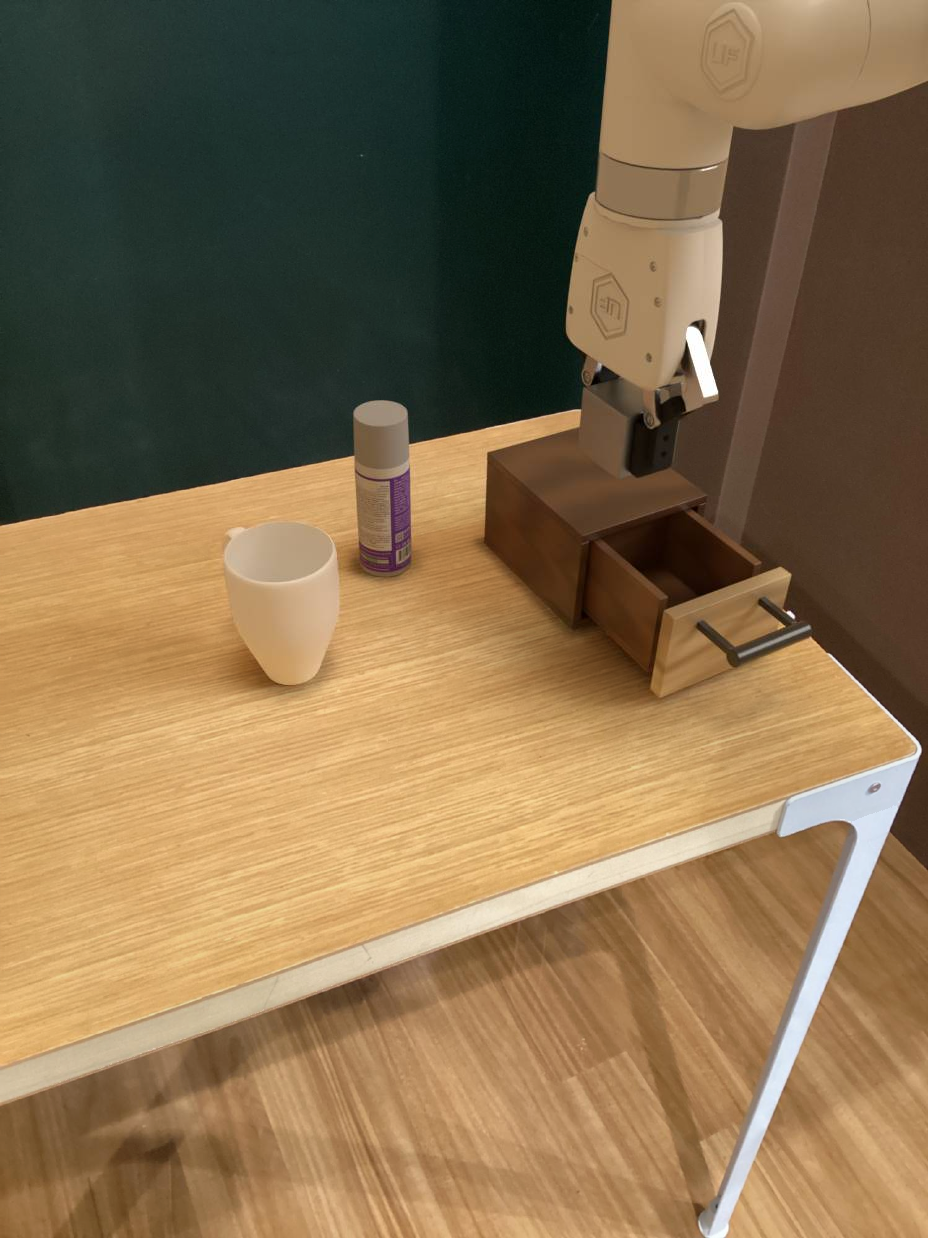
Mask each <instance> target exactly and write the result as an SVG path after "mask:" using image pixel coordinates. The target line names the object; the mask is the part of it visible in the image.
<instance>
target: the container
mask: <svg viewBox="0 0 928 1238" xmlns="http://www.w3.org/2000/svg"><path fill="white" fill-rule="evenodd" d="M352 417H353V456H354V457H353V459H354V460H353V461H354V481H355V498H356V499H355V500H356V519H357V536H358V554H359V565H360V567H361V569H362V570H363V571H364V572H366V573H367V574H369V575H372V576H374V577H379V578H389V577H390V578H391V577H395V576H399V575H402V574H403V573H405V572H406V571H407V570H409V568H410V567H411V565H412V512H411V511H412V507H411V503H412V502H411V497H412V496H411V457H410V438H409V436H410V435H409V415H408V409H407V408H406V407H405V406H403V404H401V403H399V402H395V401H391V400H384V399H383V400H382V399H381V400H378V399H377V400H370V401H367V402H366V401H365V402H364V403H361V404H360V405H358V406H357V407H355V408H354V410H353V415H352Z"/></svg>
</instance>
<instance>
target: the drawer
mask: <svg viewBox="0 0 928 1238" xmlns="http://www.w3.org/2000/svg"><path fill="white" fill-rule="evenodd" d="M761 568H762V561H761V560H759V559H758V558H757V557H756V556H754V555H753V554H752V553H750V552H749V551H748V550H746V549H745V548H743V546H741V545H740V544H738V543H737V542H735V541H734V540H733V539H731V538H730V537H729V536H728V535H726V534H725V533H724V532H722V531H721V530H720V529H719V528H717V527H716V526H715V525H713V524H712V523H710V522H709V521H708V520H706V518H704V516H703V517H701V516H700V515H699V514H697V513H696V512H695V511H693V510H692V509H691V508H689V509H686V510H683V511H680V512H677V513H674V514H671V515H668V516H665V517H662V518H659V519H656V520H653V521H649V522H646V523H643V524H640V525H637V526H634V527H631V528H628V529H625V530H622V531H619V532H616V533H613V534H610V535H607V536H604V537H601V538H598V539H595V540H592V541H589V548H588V557H587V566H586V575H585V584H584V594H583V603H582V610H583V611H584V612H585V613H586V614H587V615H588V616H589V617H590V618H591V619H592V620H593V621H594V622H593V623H595V625H597V626H598V627H599V628H600V629H601V630H602V631H603V632H604V633H605V634H606V635H607V636H608V637H610V638H611V639H612V641H614V642H615V643H616V644H617V645H618V646H619V647H620V648H621V649H622V650H623V651H624V652H625V653H626V654H627V655H628V656H629V657H630V658H631V659H632V660H633V661H634V662H636V664H637V665H639V666H640V667H641V668H642V669H643V671H645V672H646V673H650V672H652V676H651V682H650V688H649V689H650V691H652V692H653V693H654V694H655V695H656V696H657V697H658V698H659V699H661V698H663V697H666V696H668V695H671V694H673V693H675V692H678V691H680V690H683V689H685V688H687V687H689V686H692V685H694V684H697V683H700V682H702V681H704V680H707V679H709V678H712V677H714V676H716V675H718V674H722V673H724V672H726V671H728V670H731V669H738V668H740V667H742V666H745V665H748V664H750V663H752V662H754V661H756V660H759V659H762V658H764V657H767V656H769V655H772V654H774V653H777V652H779V651H782V650H783V649H786V648H788V647H791V646H793V645H796V644H798V643H800V642H803V641H806V640H808V639H809V638H811V636H812V634H813V630H812V627H811V625H810V624H809V622H807V621H806V620H799V621H797V620H796V619H794V618H793V617H792V616H790V615H789V614H788V613H787V612H785V611H784V610H783V609H784V606H785V601H786V598H787V595H788V590H789V587H790V583H791V579H792V573H791V572H789V571H788V570H786V569H785V568H783V567H782V566H778V567H777V568H773V569H771V570H767V571H765V572H763V573H760V571H761ZM780 623H781V624H782V625H783V627H781V628H779V625H780Z"/></svg>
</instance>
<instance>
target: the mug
mask: <svg viewBox="0 0 928 1238" xmlns="http://www.w3.org/2000/svg"><path fill="white" fill-rule="evenodd" d="M221 549H222V555H223V556H222V567H223V574H224V581H225V587H226V588H225V589H226V593H227V594H226V595H227V600H228V605H229V611H230V614H231V617H232V620H233V623H234V626H235V628H236V630H237V632H238V634H239V637H241V639H242V641H243V642H244V644H245V645H246V647H247V648H248V650H249V651H250V653H251V654H252V656H253V657H254V658H255V660H256V662H257V663H258V664H259V666H260V667H261V669H262V670H263V672H264V674H266V676H267V677H268V678H269V679H270V680H271V681H273V682H274V683H276V684H279V685H282V686H296V685H300V684H304V683H307V682H309V681H310V680H312V679H313V678H314V677H316V675H317V674H318V672H319V671H320V668H321V666H322V664H323V661H324V657H325V655H326V653H327V650H328V647H329V646H330V643H331V639H332V637H333V635H334V633H335V629H336V627H337V623H338V619H339V613H340V605H341V591H340V590H341V589H340V576H339V562H338V552H337V547H336V545H335V542H334V540H333V538H332V537H331V536H330V535H329V534H328V533H327V532H325V530H323V529H321V528H319V527H318V526H316V525H313V524H310V523H306V522H304V521H303V522H302V521H296V520H275V521H268V522H262V523H259V524H255V525H253V526H251V527H247V528H245V527H243V526H237V527H232V528H230V529H228V530H227V531H226V532H225V533H224V534H223V536H222V539H221Z"/></svg>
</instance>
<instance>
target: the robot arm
mask: <svg viewBox="0 0 928 1238" xmlns="http://www.w3.org/2000/svg"><path fill="white" fill-rule="evenodd" d="M610 8H611V9H610V21H609V30H608V31H609V32H608V33H609V34H608V43H607V54H606V55H607V57H606V66H605V80H604V86H603V99H602V111H601V124H600V135H599V147H598V153H597V155H598V156H597V166H596V175H595V176H596V178H595V188H594V191H593V192H591V193H590V194H589V195H588V199H587V200H586V205H585V207H584V210H583V214H582V218H581V222H580V225H579V229H578V235H577V238H576V243H575V249H574V255H573V260H572V267H571V273H570V280H569V287H568V295H567V303H566V304H567V306H566V315H565V333H566V336H567V338H568V339H569V340H570V342H571V343H572V345H573V346H575V347H576V349H577V351H578V354H579V357H580V360H581V362H582V365H583V367H582V370H581V380H582V382H583V384H584V385H585V387H588V386H591V385H595V384H599V383H602V382H606V381H610V380H613V379H617V378H621V377H622V378H624V379H625V380H627V381H628V382H630V383H632V384H633V385H635V386H637V387H639V388H641V389H642V398H643V417H644V421H643V422H639V423H637V425H636V430H635V438H634V446H633V453H632V461H631V469H630V470H631V471H630V472H631V474H632V475H633V476H635V477H636V478H640V477H643V476H647V475H650V474H653V473H656V472H659V471H662V470H665V469H668V468H669V467H670V468H671V466H672V464H673V463H672V461H673V462H674V460H673V455H674V456H675V453H674V448H675V449H676V447H675V442H676V443H677V441H676V436H677V437H678V434H677V429H678V430H679V428H678V423H679V424H680V422H679V421H683V420H686V419H687V417H688V416H689V415H690V414H693V413H694V412H696V411H697V410H699V409H702V408H705V407H707V406H711V405H713V404H716V403H717V402H718V401H719V398H720V394H719V390H718V387H717V383H716V379H715V376H714V373H713V370H712V366H711V358H712V355H713V350H714V346H715V340H716V334H717V327H718V321H719V311H720V304H721V303H720V301H721V291H722V277H723V255H724V252H723V251H724V250H723V247H724V246H723V245H724V240H723V239H724V237H723V221H722V219H720V218H719V217H720V212H721V206H722V201H723V194H724V189H725V182H726V175H727V169H728V164H729V155H730V149H731V142H732V137H733V131H734V130H733V129H734V127H735V128H740V129H743V130H744V129H745V130H754V131H756V130H757V131H758V130H759V131H760V130H768V129H769V130H771V129H776V128H779V127H783V126H784V127H785V126H787V125H791V124H795V123H799V122H803V121H805V120H810V119H814V118H817V117H819V116H821V115H826V114H829V113H833V112H837V111H840V110H844V109H849V108H852V107H857V106H862V105H865V104H869V103H870V104H871V103H874V102H876V101H879V100H883V99H885V98H888V97H891V96H893V95H896V94H899V93H901V92H904V91H906V90H909V89H912V88H913V87H917V86H918V85H922V84H923V83H926V82H928V0H611V7H610ZM667 387H668V391H669V397H670V398H669V399H668V400H666V401H665V402H663V403H662V404H661V397H660V388H664V389H665V388H667Z"/></svg>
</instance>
